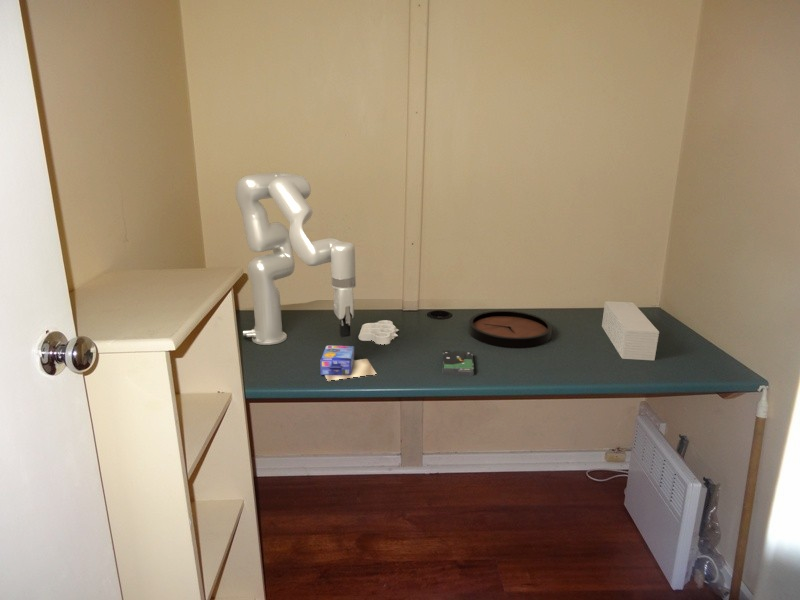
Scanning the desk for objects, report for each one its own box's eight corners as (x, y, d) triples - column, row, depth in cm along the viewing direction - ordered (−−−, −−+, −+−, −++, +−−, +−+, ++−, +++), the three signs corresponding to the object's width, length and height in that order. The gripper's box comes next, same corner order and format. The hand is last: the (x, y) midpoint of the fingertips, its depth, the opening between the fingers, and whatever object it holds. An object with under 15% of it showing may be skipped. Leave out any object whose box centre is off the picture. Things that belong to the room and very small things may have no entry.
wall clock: (568, 325, 208) (518, 346, 188) (567, 335, 209) (517, 356, 189) (502, 305, 230) (452, 322, 210) (502, 314, 231) (451, 331, 212)
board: (327, 381, 169) (327, 380, 169) (320, 365, 181) (320, 364, 180) (376, 374, 174) (376, 374, 174) (367, 359, 185) (367, 358, 185)
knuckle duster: (363, 327, 216) (400, 328, 215) (357, 344, 199) (397, 346, 198) (363, 319, 215) (400, 320, 214) (357, 336, 198) (397, 337, 197)
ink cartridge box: (354, 344, 182) (350, 364, 169) (354, 359, 184) (350, 379, 171) (325, 344, 183) (318, 363, 169) (325, 359, 184) (319, 379, 171)
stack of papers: (601, 326, 218) (604, 301, 214) (629, 328, 217) (633, 302, 213) (622, 359, 188) (626, 330, 184) (654, 361, 186) (659, 331, 183)
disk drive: (442, 357, 189) (442, 375, 175) (442, 349, 188) (442, 367, 174) (472, 358, 188) (474, 377, 174) (472, 351, 187) (475, 369, 173)
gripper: (327, 276, 177) (329, 329, 183) (336, 289, 164) (338, 345, 169) (349, 274, 179) (351, 326, 185) (361, 287, 166) (362, 342, 171)
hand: (345, 335), depth 177 cm, fingers closed
